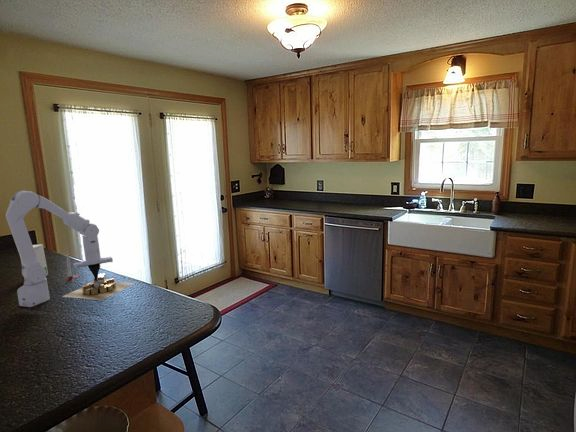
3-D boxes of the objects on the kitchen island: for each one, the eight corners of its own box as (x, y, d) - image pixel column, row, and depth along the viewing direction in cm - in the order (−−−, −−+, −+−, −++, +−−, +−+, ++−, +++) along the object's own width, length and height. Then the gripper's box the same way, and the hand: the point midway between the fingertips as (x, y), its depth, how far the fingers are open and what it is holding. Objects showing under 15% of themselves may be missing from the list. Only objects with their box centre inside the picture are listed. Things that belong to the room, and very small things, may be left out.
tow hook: (84, 275, 173) (64, 280, 165) (82, 249, 171) (61, 253, 163) (93, 278, 168) (73, 284, 160) (91, 251, 166) (70, 256, 158)
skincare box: (36, 280, 167) (31, 248, 164) (23, 280, 167) (17, 249, 165) (49, 274, 176) (43, 243, 173) (36, 274, 176) (30, 244, 173)
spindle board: (102, 303, 137) (101, 291, 136) (62, 299, 143) (60, 288, 142) (135, 285, 154) (134, 275, 153) (98, 282, 160) (97, 273, 159)
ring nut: (87, 297, 140) (85, 289, 139) (77, 287, 152) (76, 279, 151) (119, 288, 147) (118, 280, 147) (107, 279, 160) (106, 272, 159)
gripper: (72, 255, 145) (77, 287, 147) (112, 249, 153) (116, 279, 155) (71, 252, 151) (76, 282, 153) (109, 246, 159) (113, 275, 161)
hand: (96, 280), depth 154 cm, fingers closed
